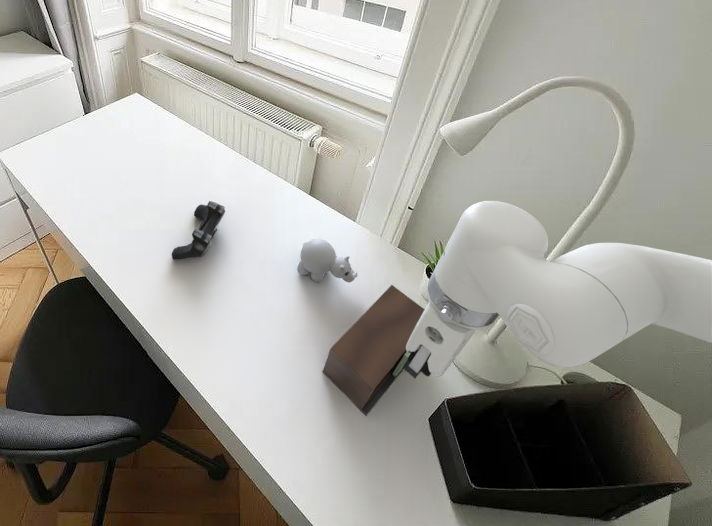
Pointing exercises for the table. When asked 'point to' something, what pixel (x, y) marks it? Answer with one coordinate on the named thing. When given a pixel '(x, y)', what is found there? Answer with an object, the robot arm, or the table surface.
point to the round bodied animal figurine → (324, 261)
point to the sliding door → (405, 366)
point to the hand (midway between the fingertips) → (420, 364)
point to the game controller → (201, 231)
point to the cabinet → (373, 349)
